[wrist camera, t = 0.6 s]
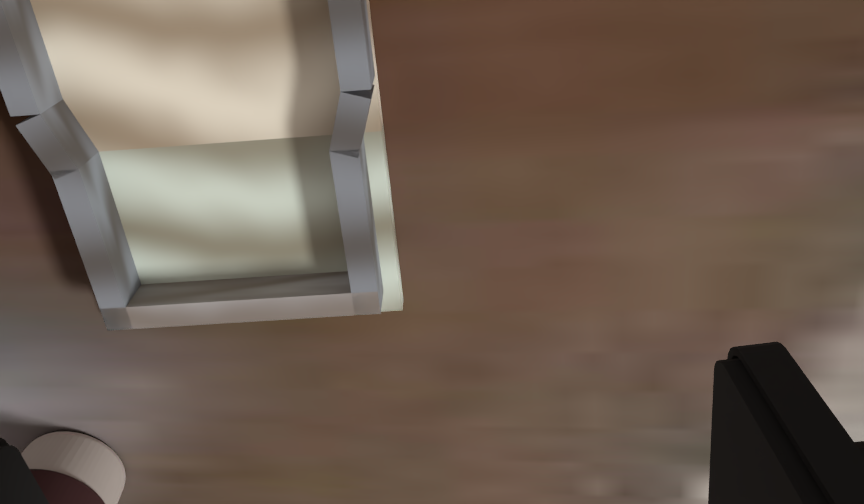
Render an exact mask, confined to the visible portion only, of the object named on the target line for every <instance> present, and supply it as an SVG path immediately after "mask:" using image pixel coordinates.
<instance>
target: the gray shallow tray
mask: <svg viewBox="0 0 864 504" xmlns="http://www.w3.org/2000/svg"><path fill="white" fill-rule="evenodd" d="M0 90H1V92H2V95H3V98H4V100H5V103H6V106H7V109H8V111H9V114H10V117H11V116H24V115H31V116H30V117H28V118H27V119H25V120H24V121H22V122H20V123H19V124H17V125H16V127H17V128H18V130H19V131H20V133H21V134H22V135H23V137H24V138H25V139H26V141H27V142H28V143H29V145H30V146H31V148H32V149H33V150H34V152H35V153H36V154H37V156H38V157H39V159H40V160H41V161H42V163H43V164H44V165H45V167H46V168H47V170H48V171H49V172H50V174H51V175H52V177H53V180H54V183H55V186H56V188H57V191H58V194H59V197H60V200H61V202H62V205H63V208H64V211H65V213H66V216H67V219H68V222H69V225H70V227H71V230H72V233H73V236H74V238H75V241H76V244H77V247H78V250H79V252H80V255H81V258H82V261H83V263H84V266H85V269H86V272H87V275H88V277H89V280H90V283H91V286H92V289H93V291H94V294H95V297H96V300H97V302H98V305H99V308H100V311H101V314H102V316H103V319H104V322H105V325H106V327H107V330H123V329H139V328H156V327H172V326H188V325H204V324H221V323H237V322H253V321H269V320H286V319H302V318H318V317H334V316H350V315H367V314H381V312H382V311H398V310H402V309H403V293H402V284H401V276H400V267H399V258H398V250H397V241H396V232H395V224H394V215H393V206H392V198H391V189H390V180H389V171H388V163H387V154H386V145H385V137H384V128H383V119H382V111H381V102H380V93H379V85H378V76H377V67H376V59H375V50H374V41H373V32H372V24H371V15H370V6H369V0H0Z"/></svg>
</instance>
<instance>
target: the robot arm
mask: <svg viewBox="0 0 864 504" xmlns="http://www.w3.org/2000/svg"><path fill="white" fill-rule="evenodd" d="M0 504H49V502H48V500H47V499H46V497H45V495H44V493H43V492H42V490H41V488H40V486H39V485H38V483H37V481H36V480H35V478H34V476H33V474H32V473H31V471H30V469H29V467H28V466H27V464H26V462H25V460H24V459H23V457H22V455H21V453H20V452H19V451H18V449H17V448H15V447H14V446H9V445H8V443H7V442H6V441H5V440H4V439H2V438H0ZM708 504H864V441H861V442H853V440H852V439H851V437H850V436H849V435H848V433H847V432H846V431H845V429H844V428H843V426H842V425H841V424H840V422H839V421H838V420H837V418H836V417H835V415H834V414H833V413H832V411H831V410H830V409H829V407H828V406H827V404H826V403H825V402H824V400H823V399H822V398H821V396H820V395H819V393H818V392H817V391H816V389H815V388H814V386H813V385H812V384H811V382H810V381H809V380H808V378H807V377H806V375H805V374H804V373H803V371H802V370H801V369H800V367H799V366H798V364H797V363H796V362H795V360H794V359H793V358H792V356H791V355H790V353H789V352H788V351H787V349H786V348H785V347H784V346H783V345H782V344H781V343H779V342H771V343H763V344H754V345H746V346H738V347H733V348H731V349H730V351H729V353H728V359H727V360H719V361H716V363H715V367H714V385H713V408H712V431H711V454H710V478H709V501H708Z"/></svg>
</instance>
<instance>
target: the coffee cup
mask: <svg viewBox="0 0 864 504" xmlns="http://www.w3.org/2000/svg"><path fill="white" fill-rule="evenodd" d="M21 455H22V457H23V459H24V460H25V462H26V464H27V466H28V467H29V469H30V471H31V473H32V474H33V476H34V478H35V480H36V481H37V483H38V485H39V486H40V488H41V490H42V492H43V493H44V495H45V497H46V499H47V500H48V502H49V504H117V503H118V501H119V498H120V496H121V493H122V491H123V488H124V485H125V479H126V474H125V469H124V466H123V463H122V462H121V460H120V458H119V457H118V455H117V454H116V453H115V452H114V451H113V450H112V449H111V448H110V447H108V446H107V445H106V444H104V443H103V442H101V441H100V440H98V439H95V438H93V437H91V436H88V435H85V434H81V433H76V432H69V431H59V432H52V433H48V434H45V435H43V436H40V437H38V438H36V439H35V440H34V441H32V442H31V443H30V444H29V445H28V446H27V447H26V448H25V450H24V451H23V452H22V453H21Z"/></svg>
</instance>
